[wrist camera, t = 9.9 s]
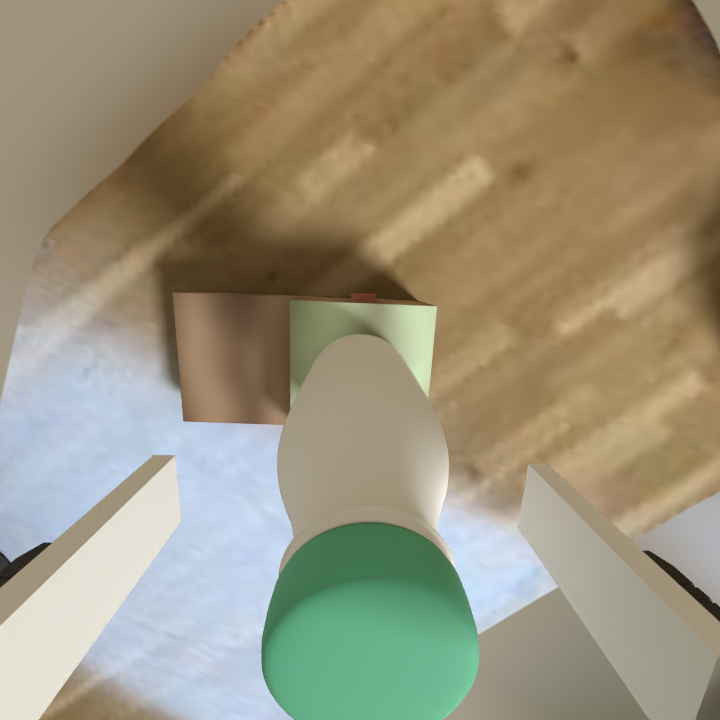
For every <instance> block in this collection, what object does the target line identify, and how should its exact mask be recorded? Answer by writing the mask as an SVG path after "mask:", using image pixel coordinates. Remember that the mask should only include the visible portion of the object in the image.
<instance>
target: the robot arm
mask: <svg viewBox="0 0 720 720" xmlns="http://www.w3.org/2000/svg"><path fill="white" fill-rule="evenodd" d="M180 522H181V513H180V502H179V491H178V480H177V469H176V458H175V456H173V455H153V456H152V457H151V458H150V459H149V460H148V461H146V462H145V463H144V464H143V465H142V466H141V467H139V468H138V469H137V470H136V471H135V472H134V473H133V474H131V475H130V476H129V477H128V478H127V479H126V480H124V481H123V482H122V483H121V484H120V485H119V486H117V487H116V488H115V489H114V490H113V491H112V492H111V493H109V494H108V495H107V496H106V497H105V498H104V499H102V500H101V501H100V502H99V503H98V504H97V505H96V506H94V507H93V508H92V509H91V510H90V511H89V512H87V513H86V514H85V515H84V516H83V517H82V518H81V519H79V520H78V521H77V522H76V523H75V524H74V525H72V526H71V527H70V528H69V529H68V530H67V531H65V532H64V533H63V534H62V535H61V536H60V537H59V538H57V539H56V540H55V541H54V542H53V543H42V544H40V545H39V546H37V547H35V548H34V549H32V550H30V551H28V552H27V553H25V554H23V555H21V556H20V557H18V558H16V559H15V560H14V561H13V562H11V563H10V564H9V562H8V561H7V560H6V559H5V558H4V557H3V556H2V555H1V554H0V720H39V718H40V717H41V715H42V714H43V713H44V711H45V710H46V709H47V707H48V706H49V704H50V703H51V702H52V700H53V699H54V697H55V696H56V695H57V693H58V692H59V690H60V689H61V688H62V686H63V685H64V683H65V682H66V681H67V679H68V678H69V677H70V675H71V674H72V672H73V671H74V670H75V668H76V667H77V665H78V664H79V663H80V661H81V660H82V658H83V657H84V656H85V654H86V653H87V651H88V650H89V649H90V647H91V646H92V645H93V643H94V642H95V640H96V639H97V638H98V636H99V635H100V633H101V632H102V631H103V629H104V628H105V626H106V625H107V624H108V622H109V621H110V619H111V618H112V617H113V615H114V614H115V613H116V611H117V610H118V608H119V607H120V606H121V604H122V603H123V601H124V600H125V599H126V597H127V596H128V594H129V593H130V592H131V590H132V589H133V587H134V586H135V585H136V583H137V582H138V581H139V579H140V578H141V576H142V575H143V574H144V572H145V571H146V569H147V568H148V567H149V565H150V564H151V562H152V561H153V560H154V558H155V557H156V555H157V554H158V553H159V551H160V550H161V548H162V547H163V546H164V544H165V543H166V542H167V540H168V539H169V537H170V536H171V535H172V533H173V532H174V530H175V529H176V528H177V526H178V525H179V523H180ZM518 528H519V529H520V531H521V532H522V534H523V535H524V537H525V538H526V540H527V541H528V543H529V544H530V545H531V547H532V548H533V550H534V551H535V553H536V554H537V556H538V557H539V559H540V560H541V562H542V563H543V564H544V566H545V567H546V569H547V570H548V572H549V573H550V575H551V576H552V578H553V579H554V581H555V582H556V584H557V585H558V586H559V588H560V589H561V591H562V592H563V594H564V595H565V597H566V598H567V599H568V601H569V602H570V604H571V605H572V607H573V608H574V610H575V611H576V613H577V614H578V616H579V617H580V618H581V620H582V621H583V623H584V624H585V626H586V627H587V629H588V630H589V632H590V633H591V635H592V636H593V638H594V639H595V640H596V642H597V643H598V645H599V646H600V648H601V649H602V651H603V652H604V653H605V655H606V657H607V658H608V660H609V661H610V662H611V664H612V665H613V667H614V668H615V670H616V671H617V673H618V674H619V676H620V677H621V679H622V680H623V681H624V683H625V684H626V686H627V687H628V689H629V690H630V692H631V693H632V695H633V696H634V698H635V699H636V700H637V702H638V703H639V705H640V706H641V708H642V709H643V711H644V712H645V714H646V715H647V717H648V718H649V719H650V720H720V607H719V606H718V605H717V604H716V603H712V601H711V599H710V598H709V597H708V596H707V595H706V594H705V593H704V592H702V591H701V590H700V589H699V588H695V587H694V584H693V583H692V582H691V581H690V580H689V579H688V578H686V577H685V576H684V575H683V574H682V573H681V572H680V571H678V570H677V569H676V568H675V567H674V566H673V565H671V564H669V563H668V562H666V561H665V560H663V559H661V558H660V557H658V556H656V555H655V554H653V553H652V552H650V551H642V550H641V549H640V548H639V547H638V546H636V545H635V544H634V543H633V542H632V541H631V540H630V539H629V538H628V537H627V536H626V535H625V534H623V533H622V532H621V531H620V530H619V529H618V528H617V527H616V526H615V525H614V524H613V523H611V522H610V521H609V520H608V519H607V518H606V517H605V516H604V515H603V514H602V513H601V512H600V511H598V510H597V509H596V508H595V507H594V506H593V505H592V504H591V503H590V502H589V501H588V500H586V499H585V498H584V497H583V496H582V495H581V494H580V493H579V492H578V491H577V490H576V489H574V488H573V487H572V486H571V485H570V484H569V483H568V482H567V481H566V480H565V479H564V478H562V477H561V476H560V475H559V474H558V473H557V472H556V471H555V470H554V469H553V468H552V467H551V466H549V465H544V464H529V465H528V470H527V476H526V482H525V488H524V494H523V500H522V506H521V512H520V517H519V523H518Z"/></svg>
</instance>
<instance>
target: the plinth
mask: <svg viewBox="0 0 720 720" xmlns="http://www.w3.org/2000/svg"><path fill="white" fill-rule="evenodd" d="M172 295H173V306H174V318H175V329H176V340H177V352H178V363H179V375H180V386H181V398H182V409H183V421H188V422H217V423H246V424H275V425H284V424H285V422H286V419H287V417H288V414H289V411H290V409H291V407H292V404H293V402H294V400H295V398H296V396H297V394H298V392H299V390H300V388H301V386H302V384H303V382H304V380H305V378H306V376H307V374H308V372H309V371H310V369H311V367H312V365H313V363H314V361H315V360H316V358H317V357H318V355H319V354H320V353H321V351H322V350H323V349H324V348H325V347H326V346H328V345H329V344H330V343H332V342H333V341H335V340H337V339H339V338H341V337H344V336H348V335H354V334H366V335H372V336H375V337H378V338H381V339H383V340H385V341H386V342H388V343H389V344H391V345H392V346H393V347H394V348H395V349H396V350H397V351H398V352H399V353H400V354H401V356H402V357H403V358H404V360H405V361H406V363H407V364H408V366H409V368H410V369H411V371H412V372H413V374H414V376H415V377H416V379H417V380H418V382H419V384H420V386H421V387H422V389H423V391H424V392H425V394H426V396H427V397H429V387H430V376H431V365H432V354H433V344H434V333H435V322H436V311H437V306H434V305H431V304H427V303H424V302H421V301H418V300H395V299H376V295H375V294H359V293H351V298H347V297H322V296H298V295H274V294H249V293H225V292H201V291H190V292H172Z"/></svg>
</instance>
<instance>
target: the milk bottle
mask: <svg viewBox="0 0 720 720" xmlns="http://www.w3.org/2000/svg"><path fill="white" fill-rule="evenodd" d="M448 473H449V460H448V450H447V444H446V441H445V437H444V433H443V430H442V426H441V424H440V421H439V419H438V417H437V415H436V413H435V411H434V409H433V407H432V405H431V403H430V401H429V399H428V397H427V396H426V394H425V392H424V391H423V389H422V387H421V386H420V384H419V382H418V380H417V379H416V377H415V376H414V374H413V372H412V371H411V369H410V368H409V366H408V364H407V363H406V361H405V360H404V358H403V357H402V356H401V354H400V353H399V352H398V351H397V350H396V349H395V348H394V347H393V346H392V345H391V344H389V343H388V342H386V341H385V340H383V339H381V338H378V337H375V336H372V335H366V334H354V335H348V336H344V337H341V338H339V339H337V340H335V341H333V342H332V343H330V344H329V345H328V346H326V347H325V348H324V349H323V350H322V351H321V353H320V354H319V355H318V357H317V358H316V360H315V361H314V363H313V365H312V367H311V369H310V371H309V372H308V374H307V376H306V378H305V380H304V382H303V384H302V386H301V388H300V390H299V392H298V394H297V396H296V398H295V400H294V402H293V404H292V407H291V409H290V411H289V414H288V417H287V419H286V422H285V424H284V427H283V430H282V433H281V437H280V442H279V448H278V457H277V474H278V483H279V488H280V493H281V497H282V500H283V503H284V506H285V509H286V512H287V514H288V517H289V519H290V522H291V525H292V529H293V536H294V539H293V540H292V541H291V543H290V544H289V546H288V547H287V549H286V551H285V553H284V555H283V558H282V561H281V564H280V569H279V578H278V580H277V582H276V585H275V588H274V592H273V595H272V598H271V601H270V605H269V608H268V612H267V617H266V621H265V626H264V631H263V636H262V671H263V675H264V679H265V682H266V684H267V687H268V689H269V691H270V693H271V694H272V696H273V697H274V699H275V700H276V701H277V703H278V704H279V705H280V706H281V707H282V708H283V710H284V711H285V712H287V713H288V714H289V715H290V716H291V717H292V718H293V719H294V720H443V719H444V718H445V717H447V716H448V715H449V714H450V713H451V712H452V711H453V710H454V709H455V708H456V707H457V706H458V705H459V704H460V702H461V701H462V700H463V699H464V697H465V696H466V694H467V693H468V691H469V690H470V688H471V686H472V684H473V682H474V679H475V677H476V674H477V670H478V664H479V646H478V634H477V628H476V625H475V621H474V618H473V615H472V611H471V608H470V605H469V601H468V598H467V596H466V593H465V591H464V588H463V586H462V583H461V581H460V578H459V576H458V574H457V572H456V569H455V563H454V560H453V556H452V554H451V552H450V549H449V548H448V546H447V544H446V542H445V541H444V540H443V538H442V537H441V536H440V535H439V534H438V520H439V516H440V512H441V509H442V506H443V502H444V499H445V495H446V491H447V485H448Z"/></svg>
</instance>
